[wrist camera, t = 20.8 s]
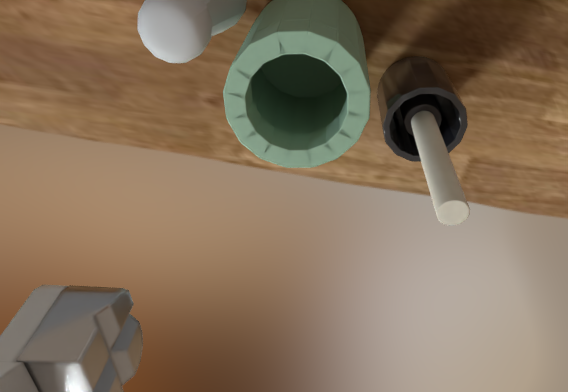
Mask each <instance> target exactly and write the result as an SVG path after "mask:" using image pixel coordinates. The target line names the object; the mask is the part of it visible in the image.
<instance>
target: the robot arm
mask: <svg viewBox="0 0 568 392" xmlns="http://www.w3.org/2000/svg"><path fill="white" fill-rule="evenodd" d="M132 306H133V301H132V298H131V296H130V293H129V290H126V289H123V288H107V287H88V286H58V285H41V286H40V287H38V288H36V289H34V291H33V292H32V293H31V295H30V296H29V297H28V299H27V300H26V301H25V303H24V304H23V306H22V307H21V308H20V310H19V311H18V313H17V314H16V315H15V317H14V318H13V319H12V321H11V322H10V323H9V325H8V326H7V328H6V329H5V330H4V332H3V333H2V334H1V336H0V392H124V391H123V389H122V385H123V384H125V383H126V382H127V381H128V380H129V379H131V378H132V377H133V376H134V375H135V373H136V371H137V368H138V365H139V363H140V359H141V353H142V346H143V338H142V330H141V326H140V323H139V321H137V320H136V319H135V318H134V317H133V316H132V315H130V314H129V313H130V310H131V309H132Z"/></svg>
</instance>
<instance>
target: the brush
mask: <svg viewBox="0 0 568 392" xmlns="http://www.w3.org/2000/svg"><path fill="white" fill-rule="evenodd" d="M399 107H400V111H401V115H402V119H403V123H404V126H405V129H406V131H407V132H408V133H409V134H411V135H412V136H414V137H415V141H416V144H417V148H418V151H419V155H420V158H421V162H422V166H423V169H424V173H425V176H426V180H427V183H428V187H429V191H430V194H431V198H432V201H433V205H434V208H435V212H436V215H437V218H438V220H439V221H440V222H441V223H442V224H445V225H449V226H455V225H459V224H461V223H462V222H464V221H465V220H466V219H467V218H468V216H469V213H470V209H469V206H468V203H467V200H466V198H465V195H464V193H463V190H462V187H461V185H460V182H459V180H458V177H457V174H456V172H455V169H454V167H453V164H452V161H451V159H450V156H449V153H448V151H447V148H446V146H445V143H444V140H443V138H442V135H441V133H440V130H439V127H440V125H441V121H442V116H441V113H440V111H439V108H438V106H437V103H436V101H435V99H434V96H433V94H419V95H417V96H415V97H412V98H410V99H408V100H406V101H404V102H403V103H402V104H401V105H400V106H399Z"/></svg>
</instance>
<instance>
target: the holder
mask: <svg viewBox="0 0 568 392" xmlns="http://www.w3.org/2000/svg"><path fill="white" fill-rule="evenodd" d="M419 94H433V96H434V99H435V101H436V103H437V106H438V108H439V111H440V113H441V116H442V121H441V125H440V127H439V130H440V133H441V135H442V138H443V140H444V143H445V146H446V148H447V151H448V153H449V152H450V151H452V150H453V149H454V148H455V147H456V146H457V145H458V144H459V143H460V142H461V140H462V138H463V135H464V133H465V130H466V128H467V125H468V124H467V114H466V108H465V106H464V104H463V102H462V100H461V98H460V97H459V95H458V93H457V91H456V89H455V87H454V85H453V83H452V81H451V79H450V78H449V76H448V75H447V73H446V72H445V70H444V69H443V67H442V66H441V65H440V64H438V63H437V62H436V61H434V60H432V59H429V58H426V57H419V56H415V57H408V58H405V59H402V60H400V61H398V62H396V63H394V64H393V65H392V66H390V67H389V68H388V69H387V70H386V72H385V73H384V74H383V76H382V78H381V80H380V82H379V85H378V91H377V98H378V103H379V109H380V115H381V121H382V127H383V132H384V137H385V142H386V144H387V145H388V146H389V147H390V148H391V149H392V151H393V152H394V153H395V154H396V155H398V156H400V157H403V158H405V159H407V160H410V161H421V158H420V155H419V151H418V148H417V144H416V141H415V137H414V136H412V135H411V134H409V133H408V132H407V131H406V129H405V126H404V123H403V119H402V115H401V111H400V107H399V106H400V105H401V104H402V103H403V102H404V101H406V100H408V99H410V98H412V97H415V96H417V95H419Z"/></svg>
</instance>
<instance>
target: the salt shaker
mask: <svg viewBox="0 0 568 392" xmlns="http://www.w3.org/2000/svg"><path fill="white" fill-rule="evenodd" d="M246 2H247V0H145V1H144V3H143V5H142V7H141V9H140V11H139V13H138V32H139V34H140V36H141V39H142V41H143V43H144V45H145V46H146V47H147V48H148V49H149V50H150V51H151V52H152V54H153V55H154V56H155V57H157V58H160V59H162V60H164V61H167V62H169V63H186V62H188V61H190V60H191V59H193V58H195V57H197V56H199V55H200V54H202V52H203V51H204V49H205V48H206V46H207V45H208V43H209V42H210V40H211V36H213V35H216V34H218V33H221V32H223V31H225V30H226V29H228V28H230V27H232V26H233V25H235V24H236V23H237V22H238V20H239V19H240V18H241V16H242V15H243V13H244V12H245V10H246Z"/></svg>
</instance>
